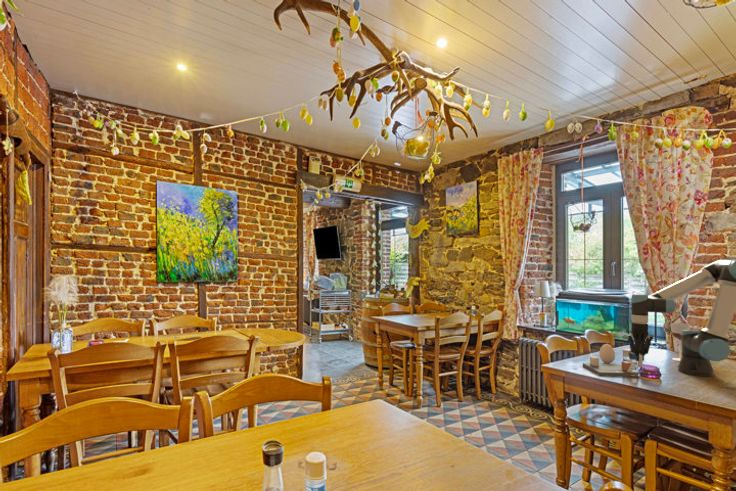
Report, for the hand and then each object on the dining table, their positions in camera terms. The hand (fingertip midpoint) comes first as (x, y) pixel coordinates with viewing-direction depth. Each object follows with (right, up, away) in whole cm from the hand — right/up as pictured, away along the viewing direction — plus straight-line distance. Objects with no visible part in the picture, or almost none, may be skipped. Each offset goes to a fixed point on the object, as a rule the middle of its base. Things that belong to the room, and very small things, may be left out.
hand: (639, 366), depth 212 cm
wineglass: (+47, -6, +32) cm, 57 cm away
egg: (-4, -5, +22) cm, 22 cm away
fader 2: (-7, -2, 0) cm, 7 cm away
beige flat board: (-13, -4, +5) cm, 15 cm away
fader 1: (-19, -2, +10) cm, 21 cm away
